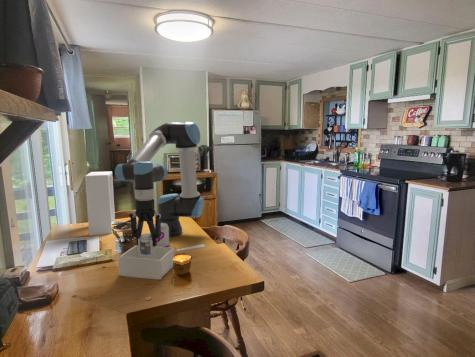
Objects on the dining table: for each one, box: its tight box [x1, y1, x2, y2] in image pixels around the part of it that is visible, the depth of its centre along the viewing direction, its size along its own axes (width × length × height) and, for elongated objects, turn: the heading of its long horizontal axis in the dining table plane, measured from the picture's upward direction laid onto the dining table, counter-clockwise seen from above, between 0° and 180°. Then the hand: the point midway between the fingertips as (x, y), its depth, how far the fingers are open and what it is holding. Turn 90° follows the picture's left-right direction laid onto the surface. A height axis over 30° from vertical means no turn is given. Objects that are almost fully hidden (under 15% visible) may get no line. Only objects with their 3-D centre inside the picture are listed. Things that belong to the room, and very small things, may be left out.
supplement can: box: [151, 223, 171, 248], centre depth 144 cm, size 8×8×15 cm
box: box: [84, 170, 116, 236], centre depth 185 cm, size 22×12×35 cm, turn 17°
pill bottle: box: [141, 232, 152, 256], centre depth 127 cm, size 5×5×8 cm
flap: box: [109, 255, 158, 260], centre depth 117 cm, size 7×16×1 cm, turn 79°
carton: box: [117, 244, 175, 281], centre depth 128 cm, size 14×19×8 cm
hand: (147, 253), depth 127 cm, fingers closed on pill bottle, 5 cm apart
